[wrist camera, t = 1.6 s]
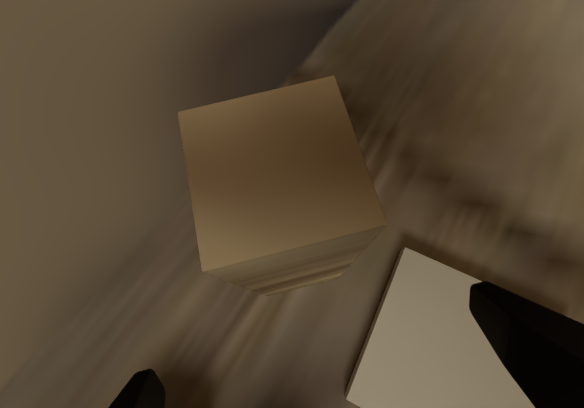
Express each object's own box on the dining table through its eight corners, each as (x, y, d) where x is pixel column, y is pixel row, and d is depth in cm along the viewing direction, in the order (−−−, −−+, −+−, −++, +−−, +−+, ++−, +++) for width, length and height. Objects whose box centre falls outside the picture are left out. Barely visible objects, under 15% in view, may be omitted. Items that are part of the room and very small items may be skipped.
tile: (566, 324, 19) (580, 325, 18) (528, 496, 16) (542, 508, 15) (400, 250, 20) (405, 247, 19) (343, 394, 18) (346, 399, 17)
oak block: (338, 277, 20) (387, 224, 8) (267, 295, 20) (202, 271, 8) (319, 210, 21) (334, 75, 9) (253, 227, 21) (177, 112, 9)
